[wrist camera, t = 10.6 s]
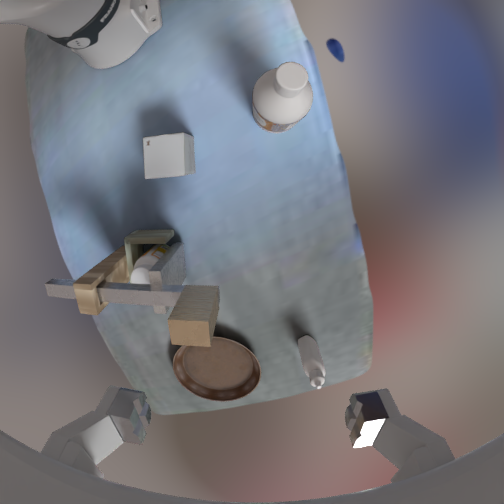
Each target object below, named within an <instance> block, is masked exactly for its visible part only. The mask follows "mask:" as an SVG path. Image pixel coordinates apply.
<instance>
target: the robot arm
mask: <svg viewBox="0 0 504 504" xmlns="http://www.w3.org/2000/svg"><path fill="white" fill-rule="evenodd" d="M155 19H156V20H155ZM153 20H155V21H153ZM0 24H19V25H24V26H27V27H30V28H33V29H35V30H38V31H40V32H43V33H45V34H47V36H48V37H49V38H50V39H52V40H53V41H55V42H57V43H59V44H61V45H63V46H66V47H69V48H71V49H72V51H73V52H75V53H76V54H79V55H80V56H81V57H82V58H83V60H84V61H85V62H86V63H87V64H88V65H89V66H91V67H93V68H97V69H105V68H110V67H113V66H116V65H118V64H120V63H122V62H123V61H125V60H127V59H128V58H129V57H131V56H132V55H133V54H134V53H135V52H136V51H137V50H138V49H139V48H140V47H141V45H142V44H143V43H144V41H145V40H146V39H147V38H148V37H149V36H151V35H152V34H154V33H155V32H156V31H158V30H159V29H160V28H161V27H162V17H161V9H160V0H0ZM146 399H147V397H146V394H145V392H142V391H137V390H131V389H127V388H122V387H116V386H109V387H108V389H107V390H106V392H105V394H104V396H103V398H102V400H101V401H100V403H99V405H98V407H97V409H96V410H95V411H91V412H89V413H87V414H86V415H84V416H82V417H80V418H78V419H77V420H75V421H73V422H71V423H69V424H67V425H65V426H64V427H62V428H60V429H58V430H56V431H54V432H52V434H51V436H50V438H49V439H48V441H47V442H46V444H45V446H44V448H43V450H42V451H41V453H40V452H38V451H36V450H34V449H32V448H30V447H28V446H27V445H25V444H23V443H21V442H20V441H18V440H16V439H14V438H13V437H11V436H9V435H8V434H6V433H4V432H3V431H1V430H0V504H504V433H503V434H501V435H500V436H498V437H497V438H495V439H493V440H491V441H490V442H488V443H486V444H485V445H483V446H481V447H479V448H477V449H475V450H473V451H471V452H469V453H468V454H465V455H463V456H461V457H459V458H457V459H455V458H454V456H453V454H452V452H451V450H450V448H449V446H448V444H447V442H446V440H445V438H443V437H441V436H440V435H438V434H436V433H434V432H433V431H431V430H429V429H427V428H426V427H424V426H422V425H421V424H419V423H417V422H415V421H414V420H412V419H411V418H409V417H407V416H406V415H401V414H400V412H399V410H398V408H397V406H396V404H395V402H394V400H393V398H392V396H391V394H390V392H389V390H388V389H380V390H375V391H368V392H362V393H355V394H352V396H351V397H350V403H351V404H350V405H349V406H348V407H347V409H346V412H345V422H346V426H347V428H348V429H349V430H351V434H350V440H351V442H352V446H353V448H357V447H363V446H368V445H372V446H373V447H374V448H375V449H376V450H378V451H379V452H380V453H381V454H382V455H383V456H384V457H386V458H387V459H388V460H389V461H390V462H391V463H393V464H394V465H395V466H396V467H397V468H399V471H398V472H397V473H396V474H395V475H394V476H393V478H392V479H391V482H392V483H391V484H387V485H383V486H380V487H376V488H372V489H368V490H364V491H359V492H354V493H350V494H344V495H338V496H333V497H327V498H319V499H310V500H301V501H289V502H269V503H268V502H265V503H245V502H222V501H208V500H200V499H191V498H184V497H177V496H171V495H166V494H161V493H155V492H151V491H146V490H142V489H138V488H134V487H130V486H126V485H122V484H119V483H116V482H112V481H109V480H106V479H103V477H104V475H103V473H102V472H101V470H100V469H99V468H98V467H97V466H96V465H97V464H98V463H99V462H100V461H102V460H103V459H104V458H105V457H107V456H108V455H109V454H110V453H112V452H113V451H114V450H115V449H116V448H118V447H119V446H120V445H121V444H122V443H124V442H129V443H134V444H139V445H143V442H144V439H145V436H146V431H145V429H144V428H146V427H147V426H149V424H150V421H151V408H150V405H149V404H148V403H147V402H146ZM123 441H124V442H123Z"/></svg>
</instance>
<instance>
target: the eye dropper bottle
mask: <svg viewBox="0 0 504 504" xmlns="http://www.w3.org/2000/svg"><path fill="white" fill-rule="evenodd" d="M298 347H299V351H300V356H301V360H302V365H303V369H304V371H305V373H306V374H307V376H308V377H309V378H310V383H311V385H312V386H316V387H317V388H318V389H320V388H321V385H322V384H323V383H324V381H325V379H324V376H325V374H326V371H325V367H324V363H323V360H322V357H321V354H320V350H319V347H318V345H317V343H316V341H315V340H314V339H313V338H312V337H310V336H308V335H305V336H303V337H302V338H300V339H298Z"/></svg>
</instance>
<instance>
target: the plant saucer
mask: <svg viewBox="0 0 504 504" xmlns="http://www.w3.org/2000/svg"><path fill="white" fill-rule="evenodd" d="M173 370H174V374H175V376H176V378H177V379H178V381H179V382H180V383H181V385H182V386H183V387H184V388H186V389H187V390H188V391H190V392H191V393H193V394H194V395H196V396H199V397H201V398H204V399H207V400H212V401H233V400H237V399H240V398H243V397H245V396H247V395H248V394H250V393H251V392H252V391H253V390H254V389H255V388H256V387H257V385H258V384H259V381H260V378H261V367H260V364H259V361H258V359H257V358H256V357H255V355H254V354H253V353H252V352H251V351H250V350H249V349H248V348H246V347H245V346H244V345H242V344H240V343H239V342H236V341H234V340H231V339H228V338H225V337H219V336H213V338H212V343H211V347H204V346H186V345H182V346H181V347H180V348H179V349H178V350H177V352H176V353H175V356H174V358H173Z"/></svg>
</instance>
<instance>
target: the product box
mask: <svg viewBox="0 0 504 504" xmlns="http://www.w3.org/2000/svg"><path fill="white" fill-rule="evenodd" d="M143 153H144V171H145V179H154V178H166V177H177V176H184V175H188V174H195V152H194V137H193V136H191V135H188V134H186V133H184V132H183V133H174V134H165V135H157V136H149V137H144V138H143Z"/></svg>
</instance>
